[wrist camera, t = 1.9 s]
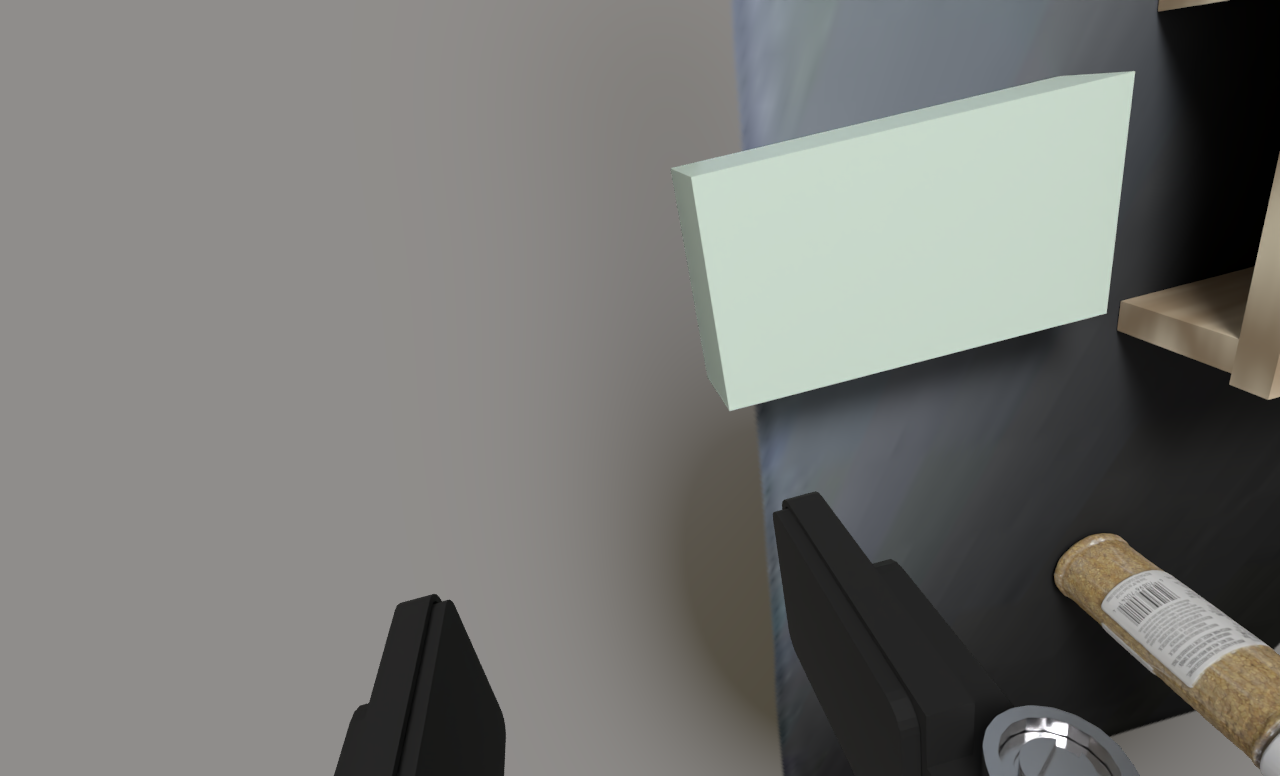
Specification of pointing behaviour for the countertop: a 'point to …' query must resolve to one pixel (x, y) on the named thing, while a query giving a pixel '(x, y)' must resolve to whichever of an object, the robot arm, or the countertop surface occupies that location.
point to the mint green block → (905, 235)
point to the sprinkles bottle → (1181, 641)
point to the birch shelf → (1221, 307)
